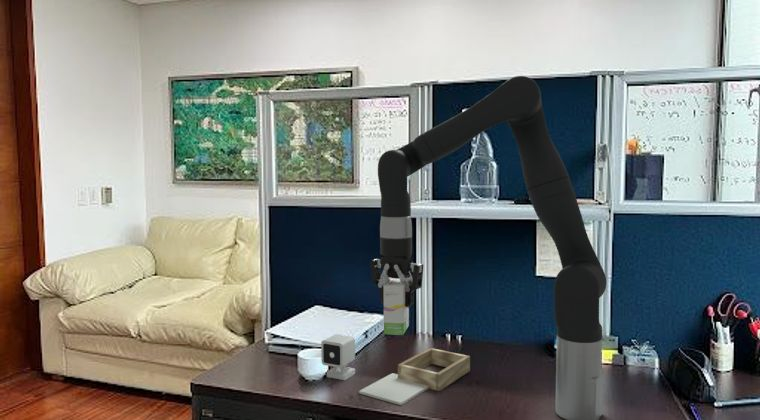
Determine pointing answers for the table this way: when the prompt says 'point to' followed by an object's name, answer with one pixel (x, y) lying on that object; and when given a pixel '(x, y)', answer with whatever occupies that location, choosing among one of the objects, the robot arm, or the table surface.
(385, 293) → the ink box
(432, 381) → the wooden frame
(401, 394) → the mat
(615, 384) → the table surface
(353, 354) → the security camera
